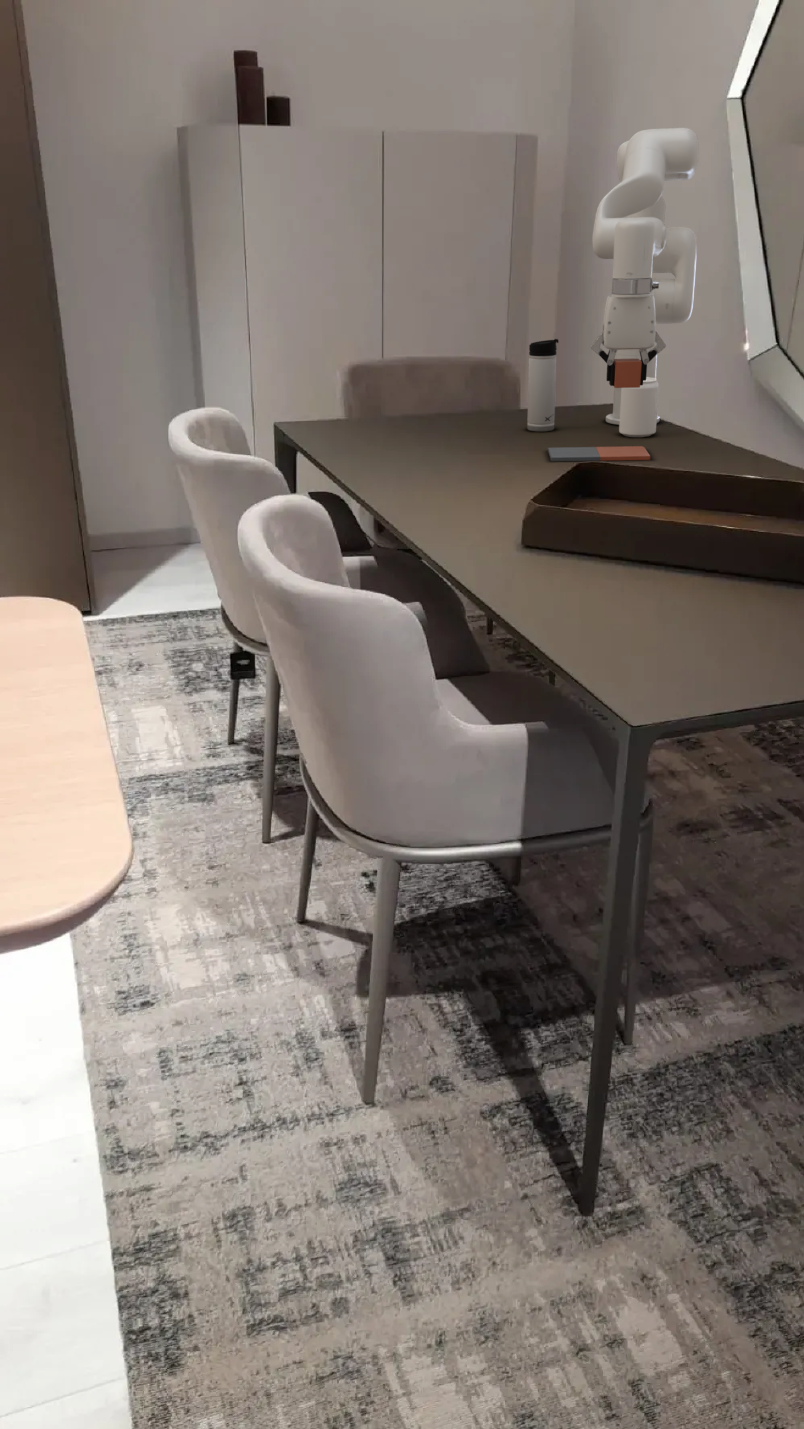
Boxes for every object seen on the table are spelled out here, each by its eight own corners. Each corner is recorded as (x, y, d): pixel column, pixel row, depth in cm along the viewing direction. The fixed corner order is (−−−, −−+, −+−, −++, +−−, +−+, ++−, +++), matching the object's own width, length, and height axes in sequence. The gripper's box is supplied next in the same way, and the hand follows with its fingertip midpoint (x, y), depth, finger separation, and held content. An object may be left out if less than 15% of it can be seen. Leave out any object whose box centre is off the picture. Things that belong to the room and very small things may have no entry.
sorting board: (547, 451, 234) (548, 447, 233) (643, 450, 232) (643, 446, 232) (550, 461, 225) (551, 457, 224) (650, 460, 223) (650, 456, 223)
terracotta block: (611, 384, 225) (613, 358, 223) (636, 384, 224) (638, 358, 222) (614, 388, 220) (616, 362, 218) (640, 387, 220) (641, 361, 218)
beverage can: (644, 430, 252) (647, 375, 247) (662, 436, 245) (666, 380, 240) (612, 432, 250) (615, 378, 245) (629, 439, 243) (633, 383, 238)
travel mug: (554, 432, 253) (557, 340, 245) (525, 431, 254) (527, 341, 246) (556, 427, 259) (559, 337, 250) (528, 426, 260) (530, 337, 251)
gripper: (672, 286, 218) (665, 381, 225) (585, 288, 219) (581, 382, 226) (678, 288, 211) (671, 386, 218) (589, 290, 212) (585, 388, 219)
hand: (625, 383), depth 222 cm, fingers closed on terracotta block, 5 cm apart
